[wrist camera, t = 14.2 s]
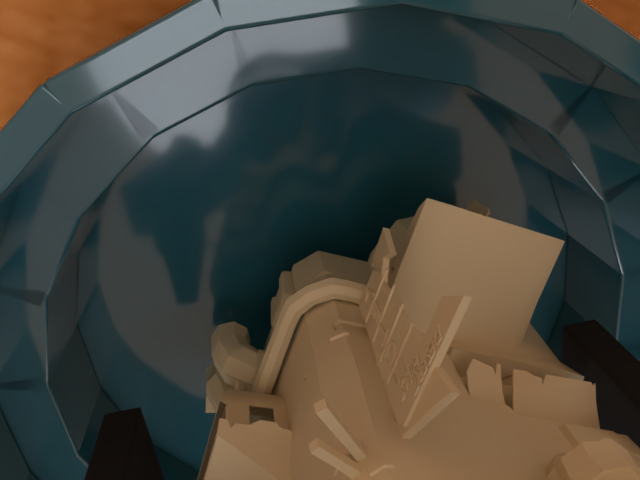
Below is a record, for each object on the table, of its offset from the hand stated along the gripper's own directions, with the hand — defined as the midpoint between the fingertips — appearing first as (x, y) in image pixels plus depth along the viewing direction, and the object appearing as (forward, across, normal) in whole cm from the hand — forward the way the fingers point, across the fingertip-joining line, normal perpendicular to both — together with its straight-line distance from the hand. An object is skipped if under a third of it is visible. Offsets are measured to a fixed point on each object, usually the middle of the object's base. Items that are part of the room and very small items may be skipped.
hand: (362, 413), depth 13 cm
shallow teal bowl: (+5, 0, 0) cm, 5 cm away
